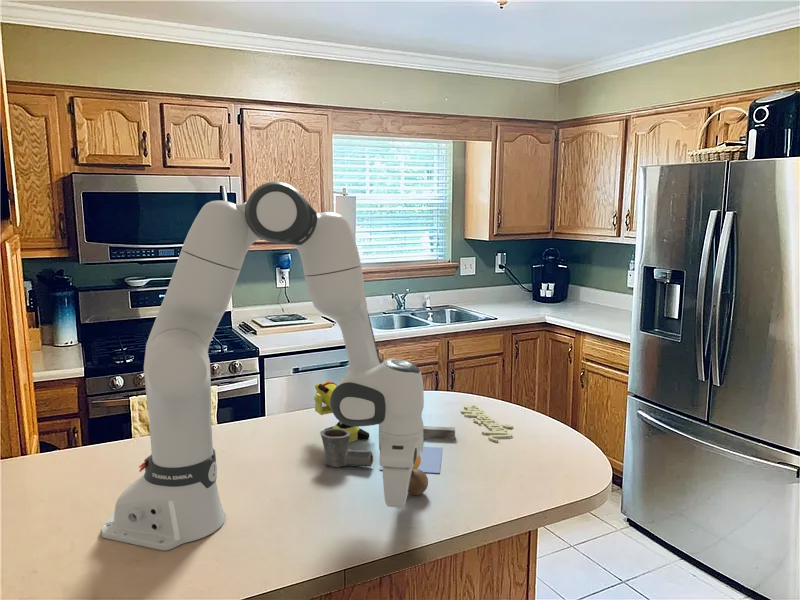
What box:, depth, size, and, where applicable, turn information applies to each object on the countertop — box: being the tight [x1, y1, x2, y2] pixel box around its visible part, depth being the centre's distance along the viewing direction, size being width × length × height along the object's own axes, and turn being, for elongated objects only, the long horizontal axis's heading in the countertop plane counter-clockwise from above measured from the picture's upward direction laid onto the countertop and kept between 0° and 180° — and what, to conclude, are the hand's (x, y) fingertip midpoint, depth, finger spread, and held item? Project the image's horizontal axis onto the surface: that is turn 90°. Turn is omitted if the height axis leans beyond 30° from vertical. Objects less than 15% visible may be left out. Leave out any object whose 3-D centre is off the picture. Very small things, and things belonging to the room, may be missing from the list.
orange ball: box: [413, 454, 421, 469], centre depth 141 cm, size 5×5×5 cm
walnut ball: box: [407, 469, 429, 496], centre depth 130 cm, size 5×5×5 cm
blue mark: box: [379, 446, 443, 475], centre depth 147 cm, size 14×14×1 cm
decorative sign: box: [460, 404, 514, 443], centre depth 171 cm, size 26×1×10 cm
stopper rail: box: [423, 425, 456, 440], centre depth 161 cm, size 20×2×2 cm, turn 84°
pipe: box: [319, 429, 374, 468], centre depth 143 cm, size 6×13×8 cm, turn 78°
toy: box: [313, 378, 370, 443], centre depth 161 cm, size 17×14×15 cm
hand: (400, 505), depth 123 cm, fingers closed
